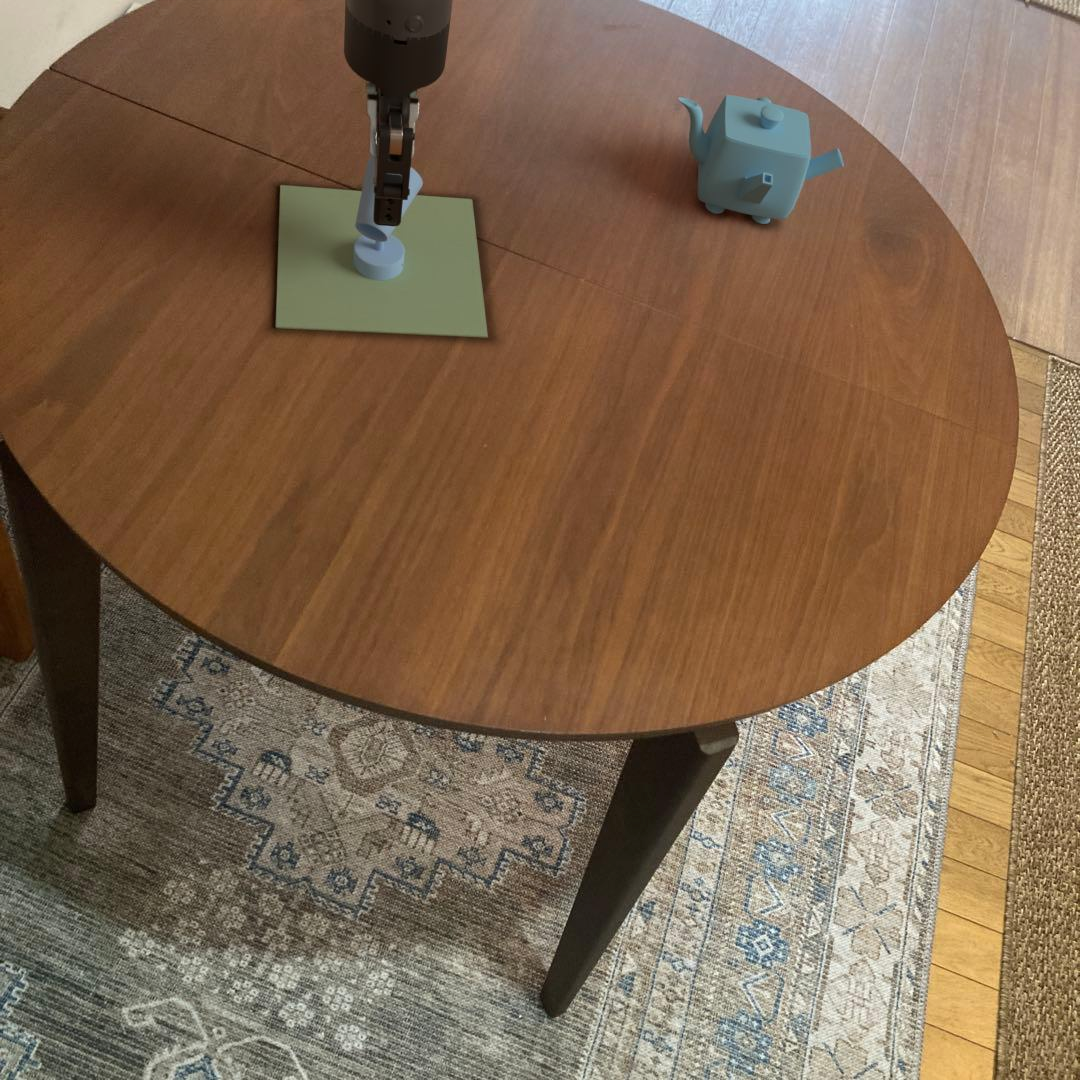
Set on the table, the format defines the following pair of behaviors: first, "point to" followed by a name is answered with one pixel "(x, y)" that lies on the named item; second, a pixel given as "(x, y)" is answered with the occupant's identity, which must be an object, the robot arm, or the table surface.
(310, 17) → the table surface
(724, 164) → the teapot
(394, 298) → the mat
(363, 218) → the spotlight
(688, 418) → the table surface
